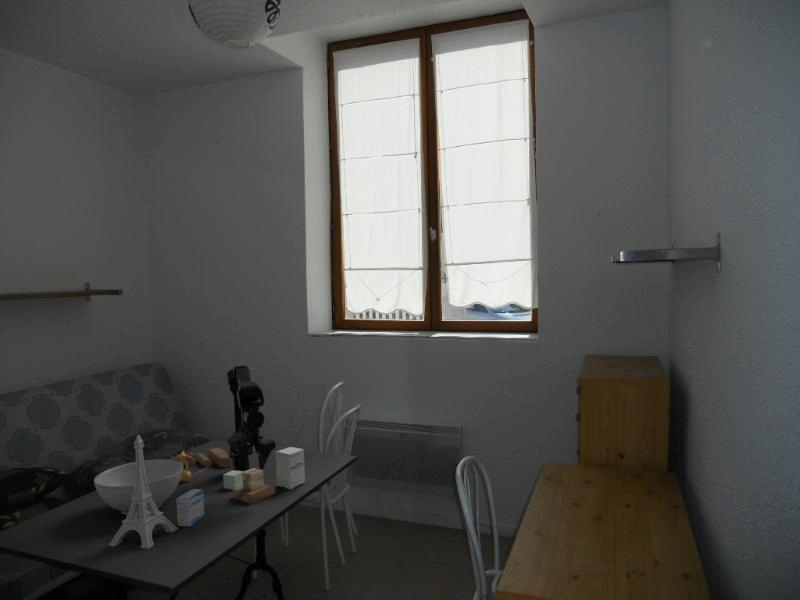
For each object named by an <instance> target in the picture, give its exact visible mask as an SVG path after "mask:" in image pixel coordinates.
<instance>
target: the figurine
mask: <svg viewBox="0 0 800 600" xmlns="http://www.w3.org/2000/svg"><path fill="white" fill-rule="evenodd" d="M186 454H187V453H185V451H184V450H183V451H181V453H180V454H178V455H177V456H175V457H174V458H173V460H174V461H176V459H177V460H178V458H180V459H181V461H180V463H182V464H184V463H185V465H187V466H185V470H184V469H183V472H182V476H181V479H180V481H182V482H184V483H185V482H188V481H190V480H191V478H192V473H191V471H189V470H188V467H189V466H188V463H187V461H185V459H186V457H188V458H191V459H192V460H193V461H195V464H196V462H197V461H196V459H195V460H194V459H193V458H192V457H191V456H188V455H186Z"/></svg>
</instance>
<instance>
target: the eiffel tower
mask: <svg viewBox="0 0 800 600" xmlns="http://www.w3.org/2000/svg"><path fill="white" fill-rule="evenodd" d="M133 443H134V446H133V448H134V450H135V462H136V472H135V486H134V495H133V497H132V498H131V500H133V501H132V504H131V507H130V510H129V513H128V515H126V517H125V519H123V520H122V521H121V523H122V524H121V526H120V527H119V529H118V531H117V532H116V533H115V535H114V537H113V538H112V540H111V541H110V542H109V544H108V545H113V546H112V547H115V545H118V544H119V545H121V544H122V543H123V542H124V541H123V538H124V536H125V535H126V533H127V532H129V531H133V530H134V531H136V532H137V533H138V534H139V535H140V539H141V546H140V548H150V547H151V546H153V544H155V543H154V541H153V529H154V527H155V526H156V525H161V526H162V527H163V528H164V532H165V533H172V532H173V533H174V532H176V531H178V530H179V527H177V526H176V525H174V524H173V523H172V521H170V520H169V519H168V518H167V517H166V516H164V515H163V514H164V511H160V510H159V509H158V508H157V507H156V505H155V503H154V502H153V500H152V498H151V496H152V493H150V491H149V487H148V483H147V478H146V472H145V466H144V461H145V460H144V459H145V458H144V450H143V449H144V447H145V444H144V440H143V439H142V437H141V435H140V434H138V435H136V439H135V441H134V442H133ZM146 503H147V504H146ZM147 506H148V508H149V511H148V510H147ZM136 511H137V513H136ZM175 530H176V531H175ZM121 542H122V543H121ZM120 543H121V544H120ZM119 545H118V546H119ZM153 547H154V546H153ZM151 548H152V547H151ZM151 548H150V549H151Z"/></svg>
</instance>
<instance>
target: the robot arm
mask: <svg viewBox="0 0 800 600" xmlns="http://www.w3.org/2000/svg"><path fill="white" fill-rule="evenodd" d="M225 380H226V385H227V386H228V387H227V388H228V389H229V390H230V393H232V406H233V407H232V408H233V409H232V411H233V431H232V432H231V434H230V436H229V437H228V438H227V439H226V440H227V443H228V446H227V448H228V449H227V453H228V455H229V458H232V468H231V469H229V470H228V472H230V471H232V470H235V471H247V470H250V469H253V468H252V467H250V459H249V456H252V455H253V453H255V454H256V455H257V458H258V459H257V460H258V466H259V469H260V470H263V471H264V468H265V466H266V463H267V461H268V459H269V456H270V454H271V452H273V451H274V449H277V442H276V441H275V440H274V439H269V438H264V437H263V435H261V432H260V431H261V429H260V428H263V424H264V422H265V415H264V413H262V412H261V410H260V407H264V403H265V398H264V392H263V390H262V387H260V386H259V385H258V383H257V382H256V381H252V378H251V370H250V369H249V367H248V365H245V364H244V365H243V364H242V365H234V366H233V367H232V369H230V370H228V371H227V372H226V376H225Z"/></svg>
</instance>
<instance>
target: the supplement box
mask: <svg viewBox="0 0 800 600" xmlns="http://www.w3.org/2000/svg"><path fill="white" fill-rule="evenodd" d="M275 468H276V471H275V473H276V486H277V487H279V486H281V487H280V488H282V487H285V488H284V489H286V488H288V489H287V490H290V489H291V490H292V489H294V487H295V488H297V487H299V486H298V485H300V484H302V485H304V484H303V483H305V484H306V475H305V473H306V471H305V450H304V448H299V447H293V446H289V447H286V448H284V449H283V448H282V449H280V450H277V451H275ZM296 486H297V487H296ZM300 486H301V485H300Z"/></svg>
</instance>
